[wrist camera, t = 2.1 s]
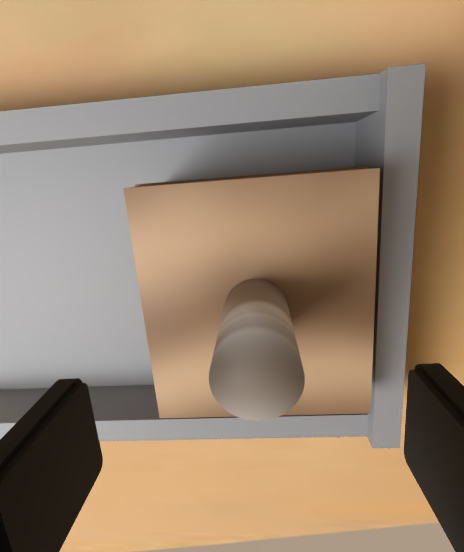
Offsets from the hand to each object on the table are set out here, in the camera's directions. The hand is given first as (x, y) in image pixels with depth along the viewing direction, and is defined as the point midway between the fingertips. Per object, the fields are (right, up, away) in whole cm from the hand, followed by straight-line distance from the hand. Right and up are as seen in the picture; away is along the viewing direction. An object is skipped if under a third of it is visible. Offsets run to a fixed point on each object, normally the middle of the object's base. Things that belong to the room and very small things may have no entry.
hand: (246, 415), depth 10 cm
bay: (-6, +4, +15) cm, 17 cm away
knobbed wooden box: (+1, +4, +13) cm, 14 cm away
